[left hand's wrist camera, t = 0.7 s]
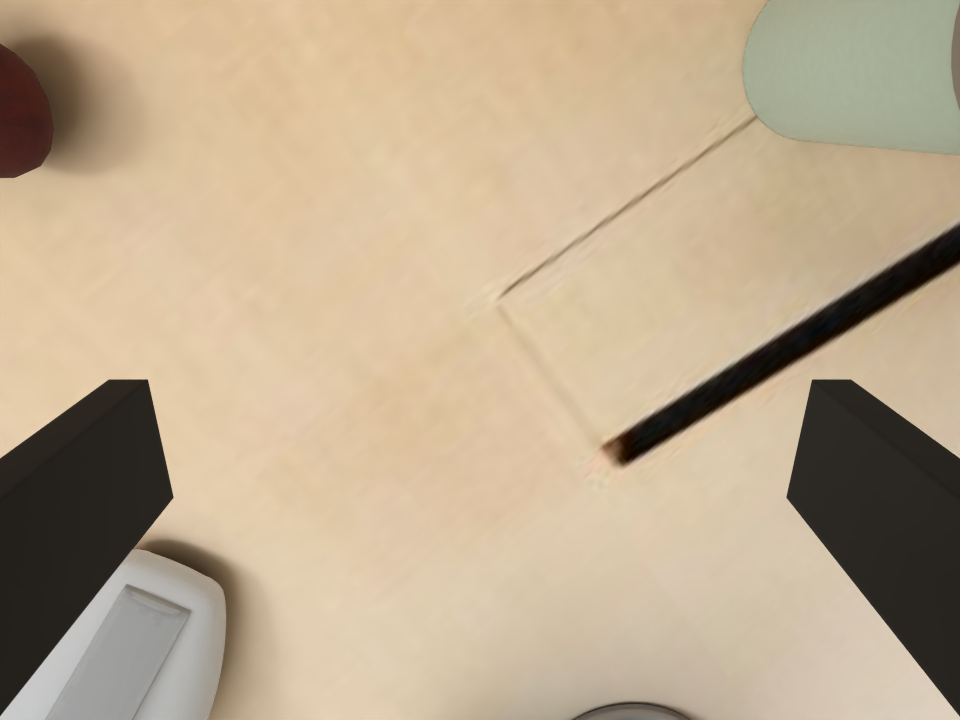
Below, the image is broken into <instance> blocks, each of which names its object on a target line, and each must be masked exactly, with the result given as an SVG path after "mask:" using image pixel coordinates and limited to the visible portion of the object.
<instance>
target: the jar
mask: <svg viewBox="0 0 960 720" xmlns="http://www.w3.org/2000/svg"><path fill="white" fill-rule="evenodd" d="M959 3H960V0H769V2H768V3H767V4H766V5H765V7H764V8H763V10H762V11H761V13H760V14H759V16H758V18H757V20H756V21H755V23H754V25H753V27H752V30H751V32H750V35H749V38H748V41H747V45H746V48H745V54H744V60H743V79H744V86H745V91H746V95H747V98H748V100H749V103H750V105H751V107H752V109H753V111H754V112H755V114H756V115H757V116H758V118H759V119H760V120H761V121H762V122H763V123H764V124H765V125H766V126H767V127H768V128H770V129H771V130H772V131H774V132H775V133H777V134H779V135H781V136H784V137H787V138H790V139H793V140H800V141H809V142H820V143H830V144H841V145H852V146H862V147H873V148H884V149H894V150H905V151H915V152H926V153H937V154H947V155H958V156H960V110H959V108H958V104H957V100H956V97H955V93H954V89H953V80H952V71H951V45H952V37H953V30H954V23H955V18H956V14H957V10H958V7H959Z"/></svg>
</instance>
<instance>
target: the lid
mask: <svg viewBox="0 0 960 720" xmlns="http://www.w3.org/2000/svg"><path fill="white" fill-rule="evenodd" d="M951 71H952V80H953V89H954V93H955V97H956V100H957V104H958V108H959V110H960V3H959V7H958V10H957V14H956V18H955V23H954V30H953V37H952V45H951Z"/></svg>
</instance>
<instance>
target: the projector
mask: <svg viewBox="0 0 960 720" xmlns="http://www.w3.org/2000/svg"><path fill="white" fill-rule="evenodd" d="M225 636H226V603H225V596H224V592H223V590H222V588H221V587H220V585H219V584H218V583H217V582H216V581H214V580H213V579H211V578H210V577H207V576H205V575H203V574H201V573H199V572H197V571H195V570H193V569H191V568H189V567H187V566H185V565H182V564H180V563H178V562H175V561H173V560H171V559H168V558H165V557H163V556H160V555H156V554H153V553H151V552H149V551H146V550H141V549H132V551H131V552H130V553H129V554H128V556H127V557H126V558H125V559H124V561H123V562H122V563H121V565H120V566H119V567H118V568H117V570H116V571H115V572H114V573H113V575H112V576H111V577H110V578H109V580H108V581H107V582H106V583H105V585H104V586H103V587H102V588H101V590H100V591H99V592H98V594H97V595H96V596H95V597H94V599H93V600H92V601H91V602H90V604H89V605H88V606H87V607H86V609H85V610H84V611H83V612H82V614H81V615H80V616H79V618H78V619H77V620H76V621H75V623H74V624H73V625H72V626H71V628H70V629H69V630H68V631H67V633H66V634H65V635H64V636H63V638H62V639H61V640H60V642H59V643H58V644H57V645H56V647H55V648H54V649H53V650H52V652H51V653H50V654H49V655H48V657H47V658H46V659H45V660H44V662H43V663H42V664H41V666H40V667H39V668H38V669H37V671H36V672H35V673H34V674H33V676H32V677H31V678H30V679H29V681H28V682H27V683H26V684H25V686H24V687H23V688H22V690H21V691H20V692H19V693H18V695H17V696H16V697H15V698H14V700H13V701H12V702H11V703H10V705H9V706H8V707H7V708H6V710H5V711H4V712H3V714H2V715H1V716H0V720H208V718H209V715H210V712H211V709H212V706H213V702H214V699H215V695H216V692H217V688H218V684H219V679H220V674H221V669H222V663H223V656H224V646H225Z"/></svg>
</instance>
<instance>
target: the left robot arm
mask: <svg viewBox="0 0 960 720" xmlns="http://www.w3.org/2000/svg"><path fill="white" fill-rule="evenodd" d="M173 498H174V497H173V493H172V488H171V484H170V479H169V474H168V470H167V465H166V461H165V456H164V452H163V447H162V442H161V438H160V433H159V429H158V424H157V419H156V415H155V410H154V406H153V401H152V397H151V392H150V387H149V383H148V380H108V381H106V382H105V383H104V384H102V385H101V386H100V387H98V388H97V389H95V390H94V391H93V392H91V393H90V394H88V395H87V396H86V397H84V398H83V399H82V400H80V401H79V402H77V403H76V404H75V405H73V406H72V407H71V408H69V409H68V410H66V411H65V412H64V413H62V414H61V415H60V416H58V417H57V418H55V419H54V420H53V421H51V422H50V423H49V424H47V425H46V426H44V427H43V428H42V429H40V430H39V431H37V432H36V433H35V434H33V435H32V436H31V437H29V438H28V439H26V440H25V441H24V442H22V443H21V444H20V445H18V446H17V447H15V448H14V449H13V450H11V451H10V452H9V453H7V454H6V455H4V456H3V457H2V458H0V716H1V715H2V714H3V712H4V711H5V710H6V708H7V707H8V706H9V705H10V703H11V702H12V701H13V700H14V698H15V697H16V696H17V695H18V693H19V692H20V691H21V690H22V688H23V687H24V686H25V684H26V683H27V682H28V681H29V679H30V678H31V677H32V676H33V674H34V673H35V672H36V671H37V669H38V668H39V667H40V666H41V664H42V663H43V662H44V660H45V659H46V658H47V657H48V655H49V654H50V653H51V652H52V650H53V649H54V648H55V647H56V645H57V644H58V643H59V642H60V640H61V639H62V638H63V636H64V635H65V634H66V633H67V631H68V630H69V629H70V628H71V626H72V625H73V624H74V623H75V621H76V620H77V619H78V618H79V616H80V615H81V614H82V612H83V611H84V610H85V609H86V607H87V606H88V605H89V604H90V602H91V601H92V600H93V599H94V597H95V596H96V595H97V594H98V592H99V591H100V590H101V588H102V587H103V586H104V585H105V583H106V582H107V581H108V580H109V578H110V577H111V576H112V575H113V573H114V572H115V571H116V570H117V568H118V567H119V566H120V565H121V563H122V562H123V561H124V559H125V558H126V557H127V556H128V554H129V553H130V552H131V551H132V549H133V548H134V547H135V546H136V544H137V543H138V542H139V541H140V539H141V538H142V537H143V535H144V534H145V533H146V532H147V530H148V529H149V528H150V527H151V525H152V524H153V523H154V522H155V520H156V519H157V518H158V517H159V515H160V514H161V513H162V511H163V510H164V509H165V508H166V506H167V505H168V504H169V503H170V501H171V500H172V499H173ZM786 498H787V499H788V500H789V501H790V503H791V504H792V505H793V506H794V508H795V509H796V510H797V511H798V513H799V514H800V515H801V517H802V518H803V519H804V520H805V522H806V523H807V524H808V525H809V527H810V528H811V529H812V530H813V532H814V533H815V534H816V535H817V537H818V538H819V539H820V541H821V542H822V543H823V544H824V546H825V547H826V548H827V549H828V551H829V552H830V553H831V554H832V556H833V557H834V558H835V559H836V561H837V562H838V563H839V565H840V566H841V567H842V568H843V570H844V571H845V572H846V573H847V575H848V576H849V577H850V578H851V580H852V581H853V582H854V583H855V585H856V586H857V587H858V588H859V590H860V591H861V592H862V594H863V595H864V596H865V597H866V599H867V600H868V601H869V602H870V604H871V605H872V606H873V607H874V609H875V610H876V611H877V612H878V614H879V615H880V616H881V618H882V619H883V620H884V621H885V623H886V624H887V625H888V626H889V628H890V629H891V630H892V631H893V633H894V634H895V635H896V636H897V638H898V639H899V640H900V642H901V643H902V644H903V645H904V647H905V648H906V649H907V650H908V652H909V653H910V654H911V655H912V657H913V658H914V659H915V660H916V662H917V663H918V664H919V666H920V667H921V668H922V669H923V671H924V672H925V673H926V674H927V676H928V677H929V678H930V679H931V681H932V682H933V683H934V684H935V686H936V687H937V688H938V690H939V691H940V692H941V693H942V695H943V696H944V697H945V698H946V700H947V701H948V702H949V703H950V705H951V706H952V707H953V708H954V710H955V711H956V712H957V714H958V715H959V716H960V458H958V457H957V456H956V455H954V454H953V453H951V452H950V451H949V450H947V449H946V448H945V447H943V446H942V445H940V444H939V443H938V442H936V441H935V440H934V439H932V438H931V437H929V436H928V435H927V434H925V433H924V432H923V431H921V430H920V429H918V428H917V427H916V426H914V425H913V424H911V423H910V422H909V421H907V420H906V419H905V418H903V417H902V416H900V415H899V414H898V413H896V412H895V411H894V410H892V409H891V408H889V407H888V406H887V405H885V404H884V403H883V402H881V401H880V400H878V399H877V398H876V397H874V396H873V395H872V394H870V393H869V392H867V391H866V390H865V389H863V388H862V387H860V386H859V385H858V384H856V383H855V382H854V381H852V380H812V383H811V387H810V392H809V397H808V401H807V406H806V410H805V415H804V419H803V424H802V429H801V433H800V438H799V442H798V447H797V452H796V456H795V461H794V465H793V470H792V474H791V479H790V484H789V488H788V493H787V497H786ZM575 720H689V719H687V718H686V717H684V716H682V715H681V714H678V713H676V712H674V711H671V710H668V709H665V708H662V707H657V706H652V705H644V704H624V705H615V706H609V707H605V708H601V709H598V710H595V711H592V712H589V713H587V714H584V715H582V716H580V717H578V718H576V719H575Z"/></svg>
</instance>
